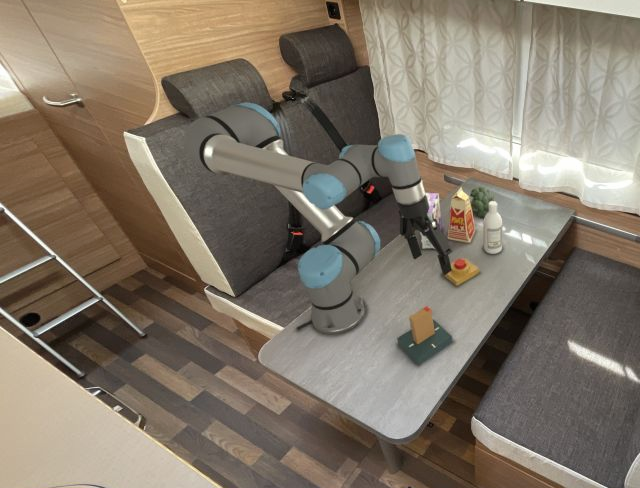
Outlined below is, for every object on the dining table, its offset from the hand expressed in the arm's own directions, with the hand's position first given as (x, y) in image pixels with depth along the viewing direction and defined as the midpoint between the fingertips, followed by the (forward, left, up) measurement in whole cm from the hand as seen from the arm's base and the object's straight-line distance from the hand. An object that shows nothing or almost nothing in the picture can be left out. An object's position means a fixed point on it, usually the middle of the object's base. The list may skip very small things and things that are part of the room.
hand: (432, 264), depth 115 cm
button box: (+16, +9, -19) cm, 27 cm away
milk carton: (+31, +27, -19) cm, 45 cm away
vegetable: (+46, +34, -19) cm, 60 cm away
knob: (-11, -8, -16) cm, 21 cm away
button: (+16, +9, -15) cm, 24 cm away
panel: (-11, -8, -19) cm, 23 cm away
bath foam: (+34, +12, -19) cm, 41 cm away
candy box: (+21, +32, -19) cm, 43 cm away
